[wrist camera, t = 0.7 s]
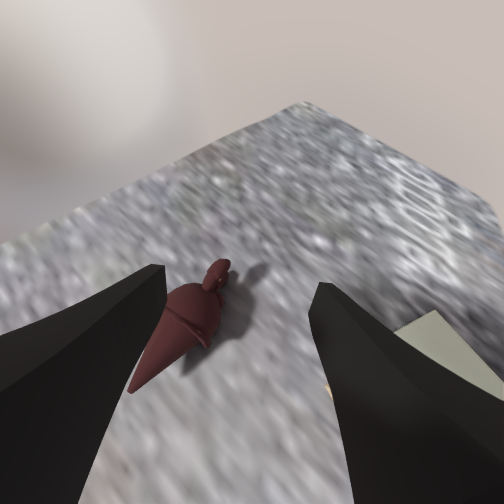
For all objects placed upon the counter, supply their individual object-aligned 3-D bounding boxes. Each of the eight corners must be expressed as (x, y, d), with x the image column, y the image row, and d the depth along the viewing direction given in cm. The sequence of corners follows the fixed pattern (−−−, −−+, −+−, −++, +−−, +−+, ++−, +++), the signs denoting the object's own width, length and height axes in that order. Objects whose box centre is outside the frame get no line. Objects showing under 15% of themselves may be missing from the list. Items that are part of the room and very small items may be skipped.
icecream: (147, 435, 14) (258, 274, 21) (73, 371, 15) (200, 235, 22) (169, 408, 21) (249, 290, 27) (115, 364, 22) (205, 260, 28)
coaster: (507, 393, 18) (514, 394, 17) (434, 440, 17) (439, 442, 16) (431, 310, 22) (435, 309, 21) (368, 346, 21) (371, 345, 20)
